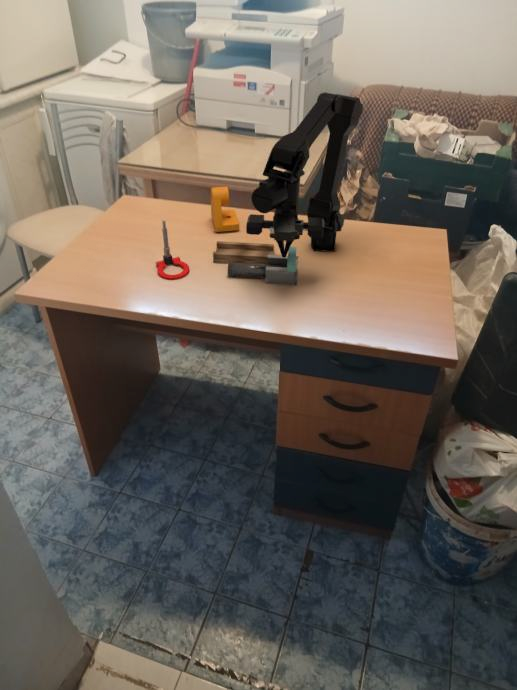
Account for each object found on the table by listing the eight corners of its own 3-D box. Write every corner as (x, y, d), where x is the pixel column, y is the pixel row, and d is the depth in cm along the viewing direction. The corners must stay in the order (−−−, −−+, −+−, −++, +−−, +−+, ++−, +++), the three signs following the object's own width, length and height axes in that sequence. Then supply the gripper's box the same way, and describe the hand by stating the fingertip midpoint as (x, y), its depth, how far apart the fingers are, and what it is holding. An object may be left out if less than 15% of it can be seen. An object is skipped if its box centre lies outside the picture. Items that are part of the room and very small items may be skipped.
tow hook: (194, 277, 134) (182, 259, 140) (191, 233, 125) (178, 216, 131) (163, 284, 131) (152, 266, 137) (158, 240, 122) (146, 223, 129)
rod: (282, 272, 135) (282, 262, 132) (281, 281, 133) (281, 271, 130) (229, 269, 136) (229, 259, 133) (228, 279, 133) (227, 268, 131)
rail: (273, 252, 143) (274, 243, 142) (271, 266, 138) (272, 257, 136) (217, 249, 145) (217, 240, 143) (213, 262, 139) (212, 254, 137)
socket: (297, 270, 136) (298, 256, 133) (296, 285, 130) (297, 271, 128) (267, 268, 137) (268, 254, 134) (265, 283, 131) (265, 269, 128)
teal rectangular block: (296, 253, 134) (296, 247, 133) (294, 271, 127) (295, 264, 126) (288, 253, 134) (288, 246, 133) (286, 271, 127) (287, 264, 126)
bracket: (239, 232, 153) (239, 194, 145) (215, 234, 152) (213, 195, 144) (234, 216, 161) (233, 179, 153) (211, 218, 160) (209, 181, 152)
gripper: (243, 210, 114) (243, 271, 124) (327, 215, 113) (320, 275, 123) (248, 191, 123) (248, 248, 133) (326, 194, 121) (320, 252, 131)
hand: (283, 256), depth 130 cm, fingers closed
